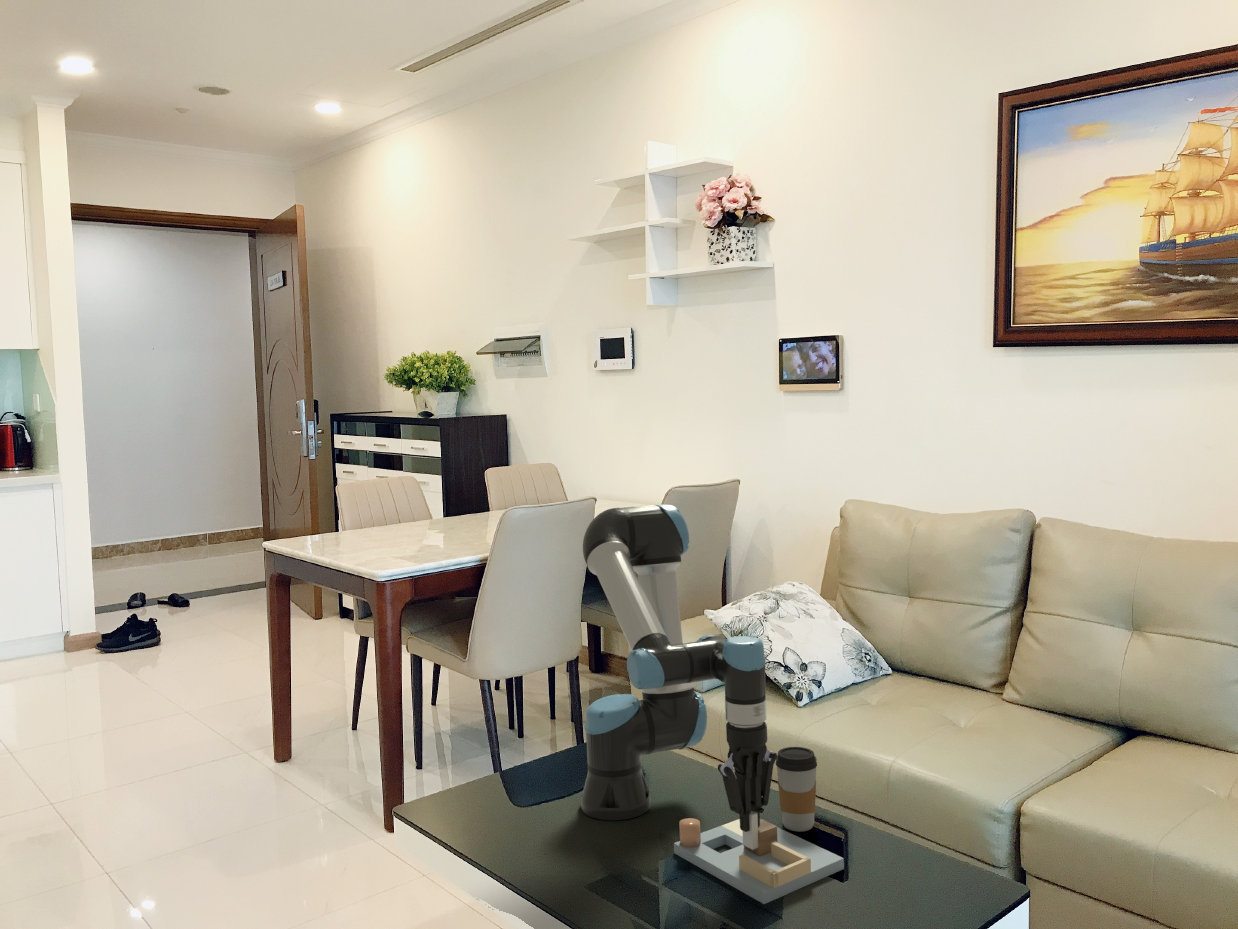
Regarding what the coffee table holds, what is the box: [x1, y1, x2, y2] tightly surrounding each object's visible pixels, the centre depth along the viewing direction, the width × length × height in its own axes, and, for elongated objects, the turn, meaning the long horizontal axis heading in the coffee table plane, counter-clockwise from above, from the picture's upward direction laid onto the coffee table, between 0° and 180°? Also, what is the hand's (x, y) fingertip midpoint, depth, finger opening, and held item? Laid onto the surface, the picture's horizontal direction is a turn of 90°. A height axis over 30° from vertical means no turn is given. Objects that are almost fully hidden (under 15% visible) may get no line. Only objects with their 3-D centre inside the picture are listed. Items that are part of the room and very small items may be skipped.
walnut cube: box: [744, 818, 778, 857], centre depth 182 cm, size 4×4×4 cm
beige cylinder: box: [678, 817, 702, 848], centre depth 186 cm, size 4×4×4 cm
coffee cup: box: [775, 746, 818, 832], centre depth 196 cm, size 8×8×15 cm
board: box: [673, 818, 845, 905], centre depth 182 cm, size 25×20×4 cm
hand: (750, 846), depth 180 cm, fingers closed
